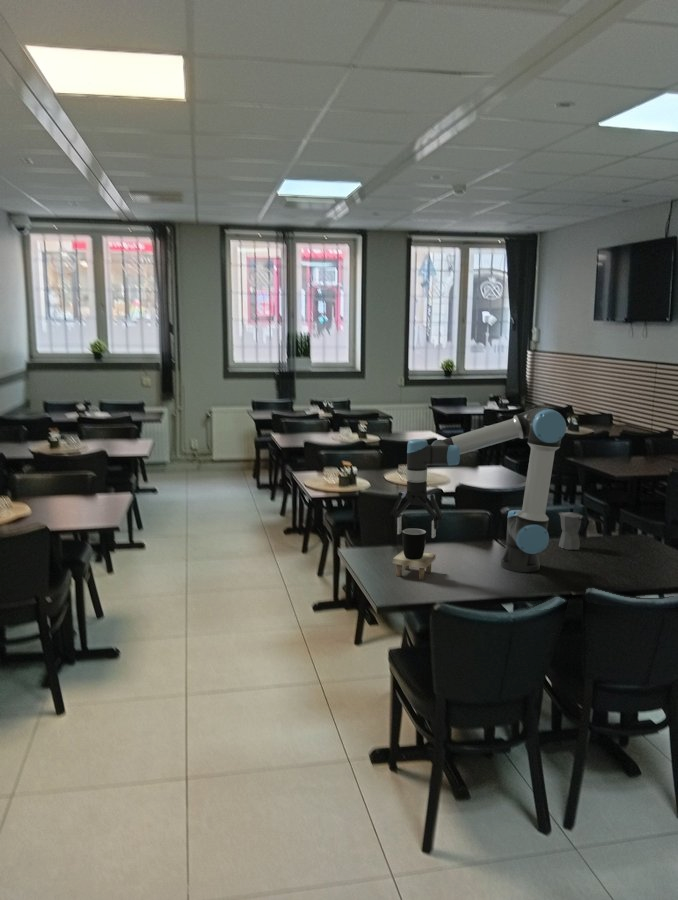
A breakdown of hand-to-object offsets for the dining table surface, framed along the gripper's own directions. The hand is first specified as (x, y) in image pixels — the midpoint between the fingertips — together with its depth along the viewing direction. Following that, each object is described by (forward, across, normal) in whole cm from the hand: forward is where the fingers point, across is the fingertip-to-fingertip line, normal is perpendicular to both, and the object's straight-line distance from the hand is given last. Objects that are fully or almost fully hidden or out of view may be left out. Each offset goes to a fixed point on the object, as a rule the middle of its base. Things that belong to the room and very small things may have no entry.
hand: (416, 535), depth 269 cm
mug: (+8, +1, 0) cm, 9 cm away
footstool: (+15, +1, 0) cm, 15 cm away
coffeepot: (+17, -51, -65) cm, 84 cm away
